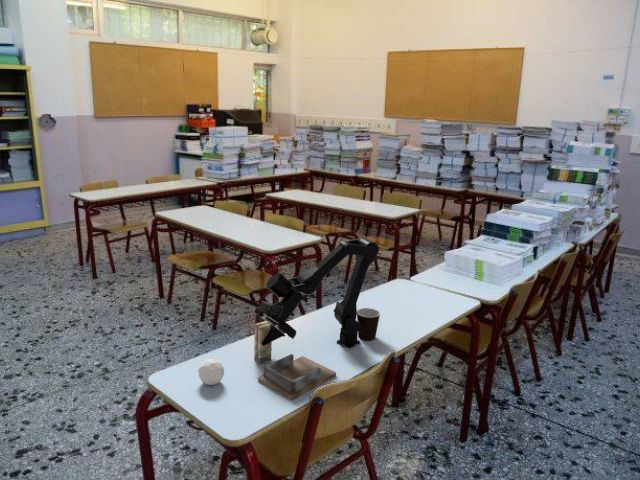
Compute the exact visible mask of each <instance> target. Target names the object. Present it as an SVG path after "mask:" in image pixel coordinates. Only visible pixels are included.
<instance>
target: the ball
mask: <svg viewBox="0 0 640 480" xmlns="http://www.w3.org/2000/svg"><path fill="white" fill-rule="evenodd" d="M224 368H225V367H224V366H223V364H222V363H221V361H220V360H217V359H215V358H208V359H206V360H205V361H202V363H201V364H200V366H199V368H198V370H197V371H198V377H199V379H200V381H201V383H203V384H205V385H207V386H215V385H217V384H218V383H220V382H221V381H222V379H223V378H224V375H225V369H224Z"/></svg>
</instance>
